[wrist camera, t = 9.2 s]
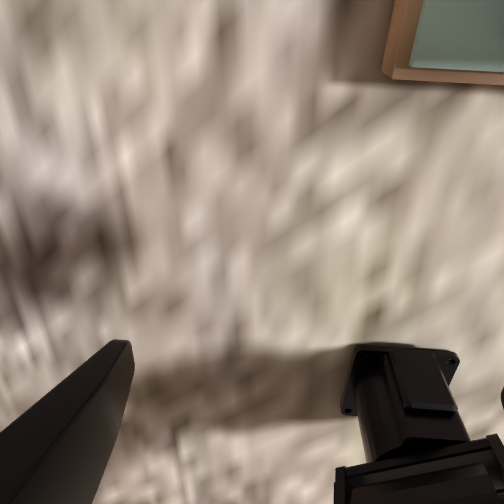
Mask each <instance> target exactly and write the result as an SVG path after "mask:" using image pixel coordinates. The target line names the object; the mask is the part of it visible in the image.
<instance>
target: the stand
mask: <svg viewBox="0 0 504 504" xmlns="http://www.w3.org/2000/svg"><path fill="white" fill-rule="evenodd" d="M381 72H382V73H383V74H385V75H386V76H388V77H389V78H391V79H398V80H417V81H435V82H454V83H472V84H491V85H504V0H395V1H394V6H393V11H392V16H391V21H390V26H389V31H388V37H387V42H386V47H385V52H384V57H383V62H382V67H381Z"/></svg>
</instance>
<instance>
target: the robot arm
mask: <svg viewBox="0 0 504 504" xmlns="http://www.w3.org/2000/svg"><path fill="white" fill-rule="evenodd" d="M361 353H364V354H361ZM459 363H460V360H459V358H458V356H457V354H456V353H454V352H447V351H433V350H420V349H406V348H392V347H378V346H364V345H363V346H358V347H356V348H355V350H354V353H353V357H352V361H351V365H350V369H349V373H348V377H347V381H346V385H345V389H344V392H343V396H342V400H341V404H340V408H341V413H342V414H344V415H350V416H358V420H359V425H360V430H361V436H362V441H363V446H364V451H365V457H366V462H367V463H365V464H360V465H356V466H351V467H345V466H342V467H338V468H336V473H335V482H334V504H504V445H503V444H502V442H501V440H500V438H499V437H498V435H497V433H496V434H492V435H487V436H486V438H482V439H478V440H473V441H471V440H470V438H469V435H468V433H467V431H466V428H465V426H464V424H463V422H462V419H461V417H460V415H459V412H458V410H457V409H458V408H457V405H456V403H455V400H454V398H453V396H452V393H451V391H450V389H449V384H450V382H451V380H452V378H453V376H454V374H455V371H456V369H457V367H458V365H459ZM134 370H135V363H134V357H133V351H132V346H131V343H130V341H128V340H117V339H114V340H112V341H110V342H109V343H107V344H106V345H105V346H104V347H103V348H101V349H100V350H99V351H98V352H97V353H95V354H94V355H93V356H92V357H91V358H89V359H88V360H87V361H86V362H84V363H83V364H82V365H81V366H80V367H78V368H77V369H76V370H75V371H74V372H72V373H71V374H70V375H69V376H68V377H66V378H65V379H64V380H63V381H62V382H60V383H59V384H58V385H57V386H56V387H54V388H53V389H52V390H51V391H50V392H48V393H47V394H46V395H45V396H44V397H42V398H41V399H40V400H39V401H38V402H36V403H35V404H34V405H33V406H32V407H30V408H29V409H28V410H27V411H26V412H24V413H23V414H22V415H21V416H20V417H18V418H17V419H16V420H15V421H13V422H12V423H11V424H10V425H9V426H7V427H6V428H5V429H4V430H3V431H1V432H0V504H92V502H93V500H94V497H95V494H96V492H97V489H98V487H99V484H100V481H101V479H102V476H103V473H104V471H105V468H106V466H107V463H108V460H109V458H110V455H111V452H112V450H113V447H114V444H115V442H116V439H117V436H118V432H119V429H120V425H121V422H122V418H123V414H124V410H125V406H126V402H127V398H128V395H129V391H130V387H131V383H132V379H133V375H134ZM501 402H502V406H503V409H504V388H503V389H502V392H501Z"/></svg>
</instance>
